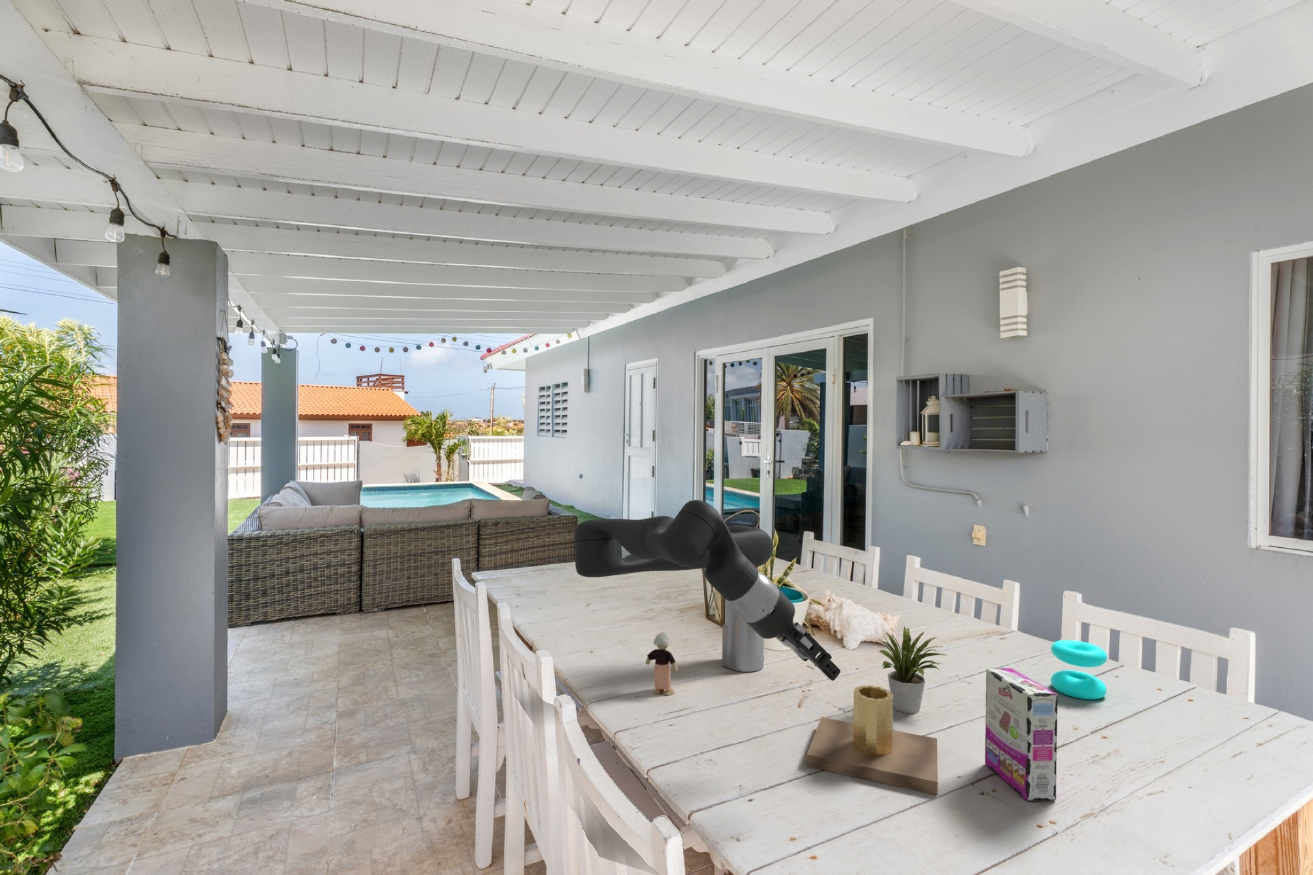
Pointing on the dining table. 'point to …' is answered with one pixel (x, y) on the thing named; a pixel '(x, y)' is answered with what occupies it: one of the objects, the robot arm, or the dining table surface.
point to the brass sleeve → (873, 720)
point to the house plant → (907, 671)
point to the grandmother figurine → (662, 665)
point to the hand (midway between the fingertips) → (821, 665)
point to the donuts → (1074, 680)
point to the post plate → (876, 757)
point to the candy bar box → (1021, 733)
